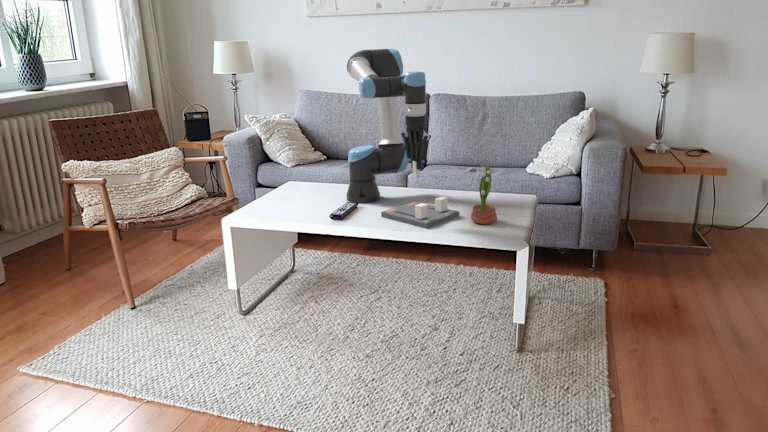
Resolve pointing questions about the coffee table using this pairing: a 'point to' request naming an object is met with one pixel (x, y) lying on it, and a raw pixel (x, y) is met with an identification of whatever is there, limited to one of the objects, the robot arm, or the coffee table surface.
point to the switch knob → (441, 204)
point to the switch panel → (408, 216)
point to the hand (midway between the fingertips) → (416, 177)
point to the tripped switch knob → (421, 211)
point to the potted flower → (484, 199)
